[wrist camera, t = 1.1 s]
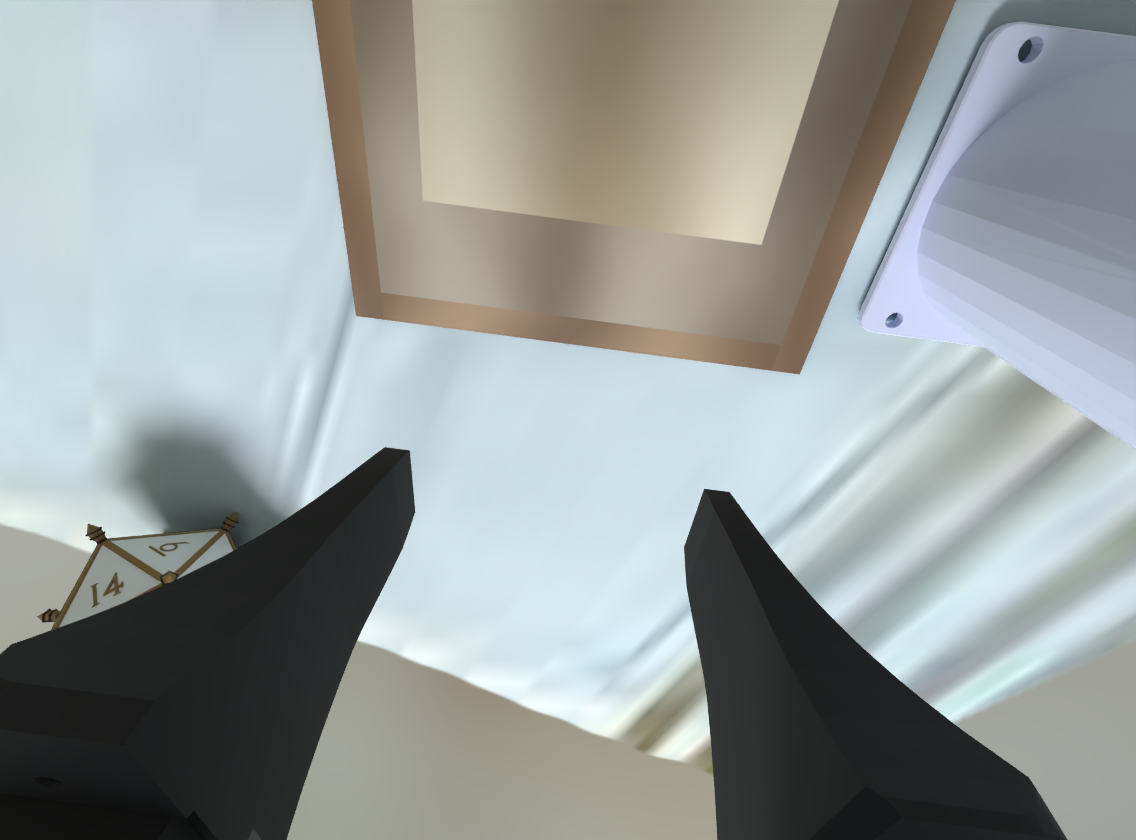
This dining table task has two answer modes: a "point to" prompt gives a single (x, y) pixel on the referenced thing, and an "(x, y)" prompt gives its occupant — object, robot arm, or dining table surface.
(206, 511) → the dining table surface
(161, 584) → the game die
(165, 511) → the dining table surface
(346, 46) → the shallow brown tray
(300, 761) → the robot arm
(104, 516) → the dining table surface
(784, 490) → the dining table surface
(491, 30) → the birch block
